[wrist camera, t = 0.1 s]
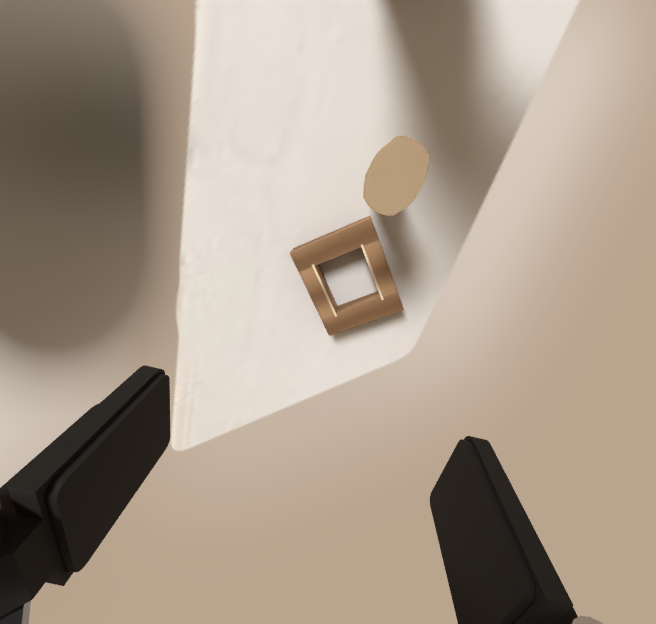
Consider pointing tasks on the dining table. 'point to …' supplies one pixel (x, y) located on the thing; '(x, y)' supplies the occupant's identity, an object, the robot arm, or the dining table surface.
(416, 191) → the handle
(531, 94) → the dining table surface
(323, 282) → the wooden frame
